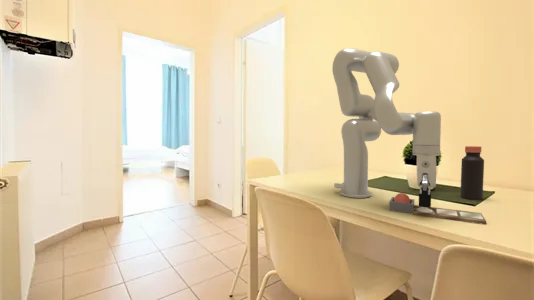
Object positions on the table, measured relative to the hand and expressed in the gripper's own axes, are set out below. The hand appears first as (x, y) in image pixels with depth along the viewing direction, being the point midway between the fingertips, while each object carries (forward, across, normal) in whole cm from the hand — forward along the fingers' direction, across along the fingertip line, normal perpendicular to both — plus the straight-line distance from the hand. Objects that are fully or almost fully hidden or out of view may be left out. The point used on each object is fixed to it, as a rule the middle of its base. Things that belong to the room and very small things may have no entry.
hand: (425, 203), depth 84 cm
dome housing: (+3, 0, +7) cm, 7 cm away
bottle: (+3, +29, -15) cm, 33 cm away
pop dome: (+2, 0, +7) cm, 7 cm away
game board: (+3, 0, -6) cm, 7 cm away
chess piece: (+3, 0, 0) cm, 3 cm away
